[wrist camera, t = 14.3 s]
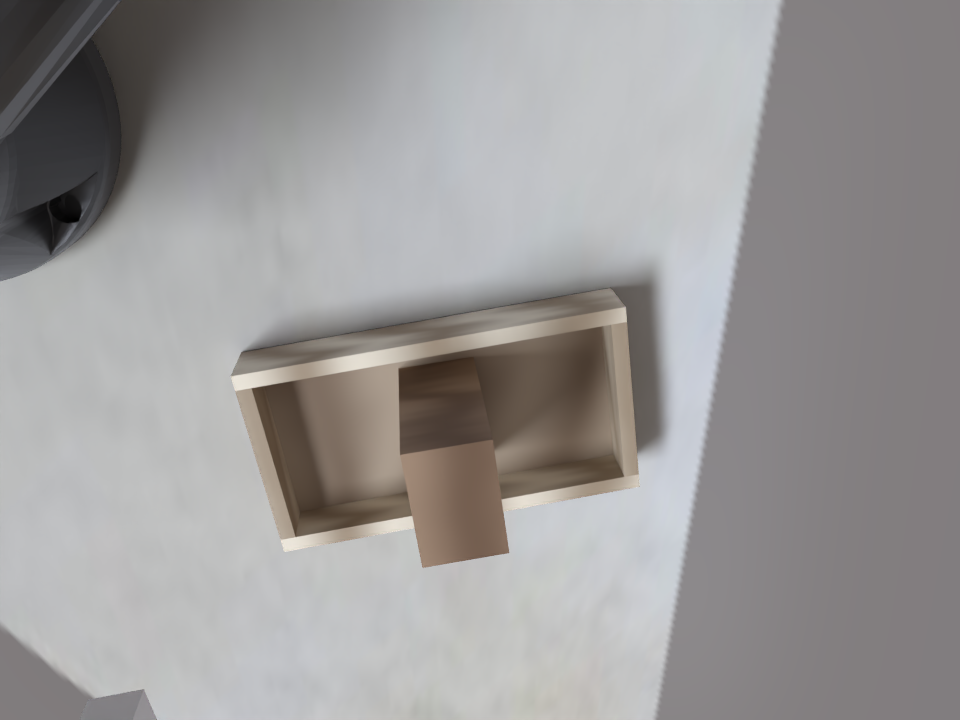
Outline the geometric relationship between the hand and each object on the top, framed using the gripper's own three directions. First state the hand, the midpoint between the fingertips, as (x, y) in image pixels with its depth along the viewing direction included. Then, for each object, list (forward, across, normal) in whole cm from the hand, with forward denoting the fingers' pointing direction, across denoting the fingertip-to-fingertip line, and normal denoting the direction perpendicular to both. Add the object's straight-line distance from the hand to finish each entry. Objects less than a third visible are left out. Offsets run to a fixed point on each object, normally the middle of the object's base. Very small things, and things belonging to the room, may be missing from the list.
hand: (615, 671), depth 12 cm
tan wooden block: (+30, -2, -11) cm, 32 cm away
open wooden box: (+31, -2, -11) cm, 33 cm away
